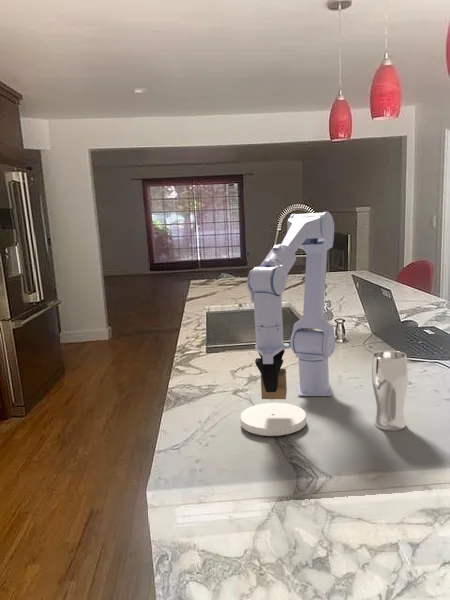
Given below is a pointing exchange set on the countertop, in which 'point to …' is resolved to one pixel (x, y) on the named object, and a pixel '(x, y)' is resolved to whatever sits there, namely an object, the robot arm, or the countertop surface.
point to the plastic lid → (273, 419)
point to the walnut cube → (280, 387)
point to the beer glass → (389, 388)
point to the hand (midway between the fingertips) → (272, 386)
